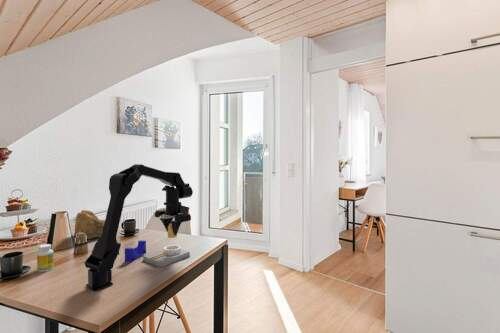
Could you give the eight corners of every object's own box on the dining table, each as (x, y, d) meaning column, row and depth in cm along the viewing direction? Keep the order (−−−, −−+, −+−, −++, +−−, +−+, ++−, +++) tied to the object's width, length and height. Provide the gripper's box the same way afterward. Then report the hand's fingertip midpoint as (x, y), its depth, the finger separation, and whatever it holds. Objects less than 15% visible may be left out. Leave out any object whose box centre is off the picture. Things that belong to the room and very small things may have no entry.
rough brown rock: (107, 243, 149) (109, 214, 149) (70, 244, 142) (73, 214, 142) (108, 233, 170) (110, 208, 171) (76, 233, 163) (78, 207, 163)
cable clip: (137, 252, 133) (137, 240, 133) (146, 253, 132) (145, 240, 132) (121, 262, 121) (121, 248, 121) (131, 262, 121) (131, 248, 120)
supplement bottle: (41, 267, 114) (41, 243, 114) (56, 266, 115) (55, 243, 115) (34, 272, 109) (33, 248, 109) (49, 271, 110) (49, 247, 110)
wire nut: (171, 238, 125) (172, 225, 125) (165, 236, 127) (166, 224, 127) (178, 236, 128) (179, 223, 128) (172, 235, 131) (173, 222, 130)
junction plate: (160, 267, 116) (160, 257, 116) (143, 260, 123) (143, 251, 123) (189, 256, 129) (189, 247, 129) (172, 250, 136) (172, 242, 136)
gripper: (200, 200, 128) (199, 234, 129) (173, 196, 139) (173, 227, 140) (180, 203, 119) (180, 239, 120) (153, 198, 130) (153, 232, 131)
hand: (172, 234), depth 128 cm, fingers closed on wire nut, 4 cm apart
